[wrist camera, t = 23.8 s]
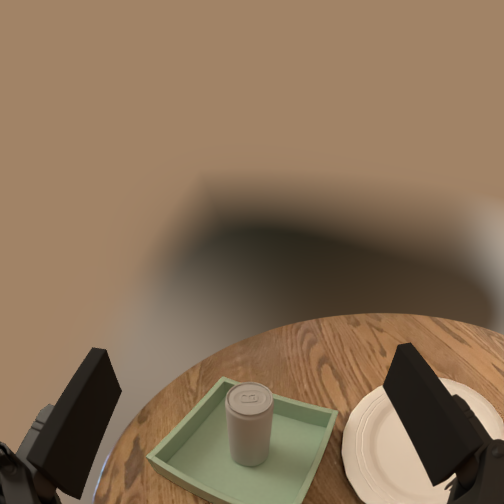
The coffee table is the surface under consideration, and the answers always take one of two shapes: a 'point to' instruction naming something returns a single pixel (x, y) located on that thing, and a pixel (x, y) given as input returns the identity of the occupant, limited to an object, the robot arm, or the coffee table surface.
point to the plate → (399, 450)
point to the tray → (237, 475)
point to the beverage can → (249, 422)
